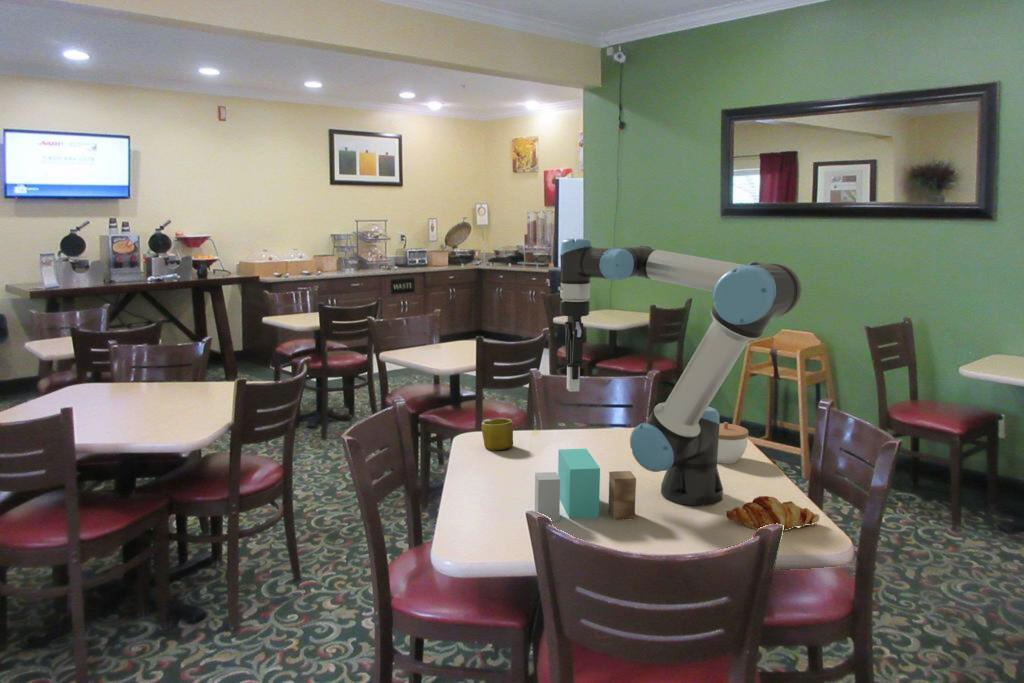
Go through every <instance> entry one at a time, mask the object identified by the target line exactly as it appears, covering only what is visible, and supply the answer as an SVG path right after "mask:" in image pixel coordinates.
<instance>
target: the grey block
mask: <svg viewBox="0 0 1024 683" xmlns="http://www.w3.org/2000/svg"><path fill="white" fill-rule="evenodd" d="M534 473H535V474H534V512H535V511H536V512H539V513H541V514H544V515H546V516H548V517H549V518H551V520H552V521H551V522H559V521H560V512H561V510H560V508H561V506H560V505H561V501H560V478H559V476H558V471H557V472H556V471H548V472H545V471H544V472H534Z"/></svg>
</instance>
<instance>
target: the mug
mask: <svg viewBox="0 0 1024 683" xmlns="http://www.w3.org/2000/svg"><path fill="white" fill-rule="evenodd" d="M481 432H482V439H483V443H484V444H483V445H484V447H485V448H486V449H487V450H489V451H493V452H494V451H503V450H508V449H510V448H512V447H513V446H514V422H513V420H512V419H511V418H493V419H489V418H488V419H487V418H486V419H484V420H483V421H482V422H481Z"/></svg>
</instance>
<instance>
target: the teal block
mask: <svg viewBox="0 0 1024 683" xmlns="http://www.w3.org/2000/svg"><path fill="white" fill-rule="evenodd" d="M557 453H558V457H557V459H558V460H557V462H558V464H557V466H558V467H557V468H558V470H557V474H558V476H559V478H560V504H561V505H562V507H563V509H564V510H565V513H566V515H567V517H568V519H573V520H574V519H592V518H595V519H596V518H600V493H601V490H600V488H601V486H600V484H601V467H600V466H599V465H598V463H597V462H596V460H595V459H594V458H593V456H592V455H591V453H590V452H589V451H588V449H587V448H570V449H569V448H565V449H564V448H562V449H561V448H559V449H558V452H557Z"/></svg>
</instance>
